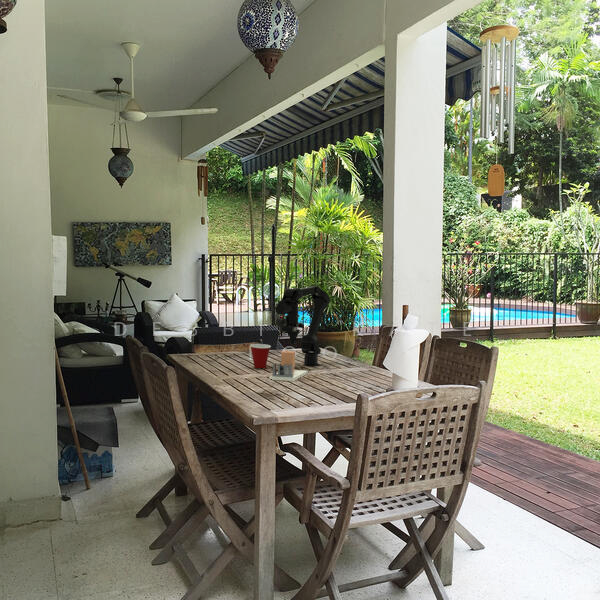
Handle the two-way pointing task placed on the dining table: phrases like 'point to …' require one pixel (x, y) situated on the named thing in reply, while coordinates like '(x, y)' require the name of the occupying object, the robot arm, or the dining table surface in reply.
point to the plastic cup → (260, 354)
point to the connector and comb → (286, 369)
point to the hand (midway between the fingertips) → (292, 343)
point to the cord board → (296, 375)
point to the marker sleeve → (288, 359)
